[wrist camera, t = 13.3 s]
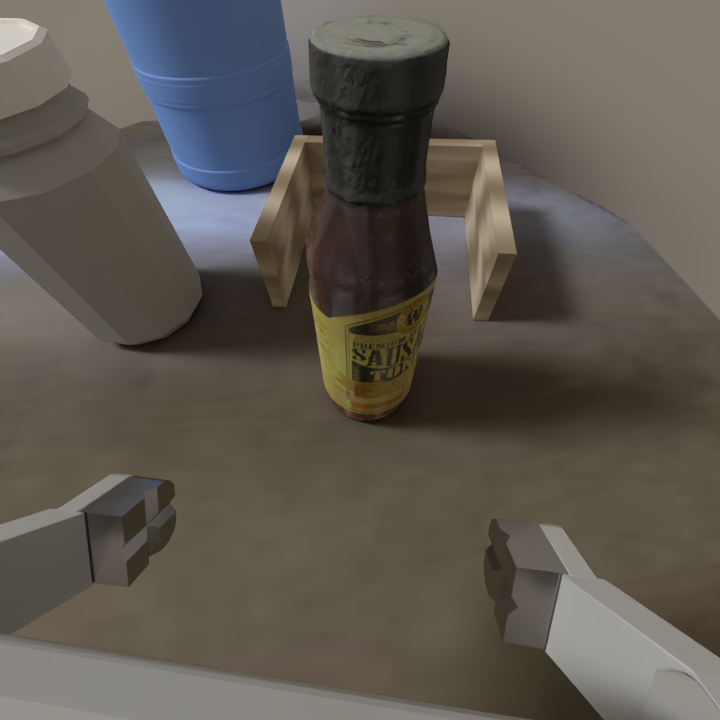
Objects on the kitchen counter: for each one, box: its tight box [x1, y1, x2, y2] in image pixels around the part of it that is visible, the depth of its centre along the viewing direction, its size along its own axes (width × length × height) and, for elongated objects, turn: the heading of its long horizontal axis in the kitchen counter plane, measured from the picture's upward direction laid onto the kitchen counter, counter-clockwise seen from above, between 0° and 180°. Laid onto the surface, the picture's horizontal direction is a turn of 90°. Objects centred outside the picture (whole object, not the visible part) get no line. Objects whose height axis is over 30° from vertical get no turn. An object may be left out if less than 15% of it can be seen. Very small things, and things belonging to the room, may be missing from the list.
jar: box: [0, 18, 202, 345], centre depth 24 cm, size 10×10×18 cm
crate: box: [250, 135, 517, 321], centre depth 31 cm, size 15×18×7 cm
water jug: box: [103, 0, 303, 191], centre depth 33 cm, size 16×16×28 cm
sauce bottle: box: [305, 15, 450, 421], centre depth 18 cm, size 7×6×20 cm
